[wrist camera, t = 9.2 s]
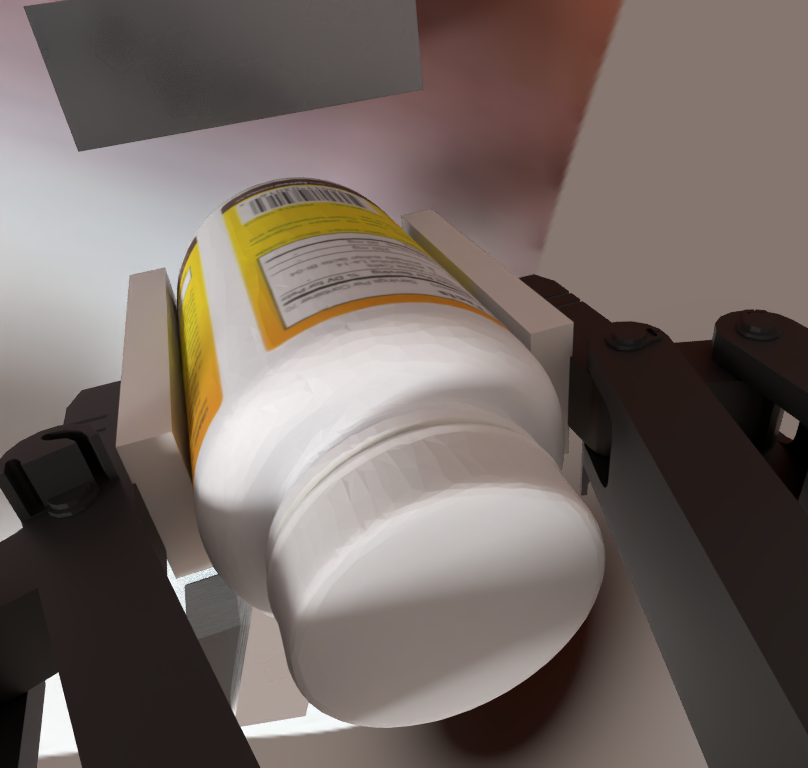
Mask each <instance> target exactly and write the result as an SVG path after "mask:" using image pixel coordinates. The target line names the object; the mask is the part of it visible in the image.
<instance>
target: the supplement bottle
mask: <svg viewBox="0 0 808 768" xmlns="http://www.w3.org/2000/svg"><path fill="white" fill-rule="evenodd" d="M177 315H178V324H179V335H180V345H181V357H182V370H183V381H184V391H185V404H186V413H187V424H188V428H187V429H188V438H189V452H190V461H191V472H192V485H193V497H194V504H195V513H196V520H197V525H198V529H199V533H200V537H201V540H202V543H203V546H204V549H205V551H206V553H207V555H208V557H209V559H210V561H211V563H212V566H213V567H214V569H215V570H216V571H217V573H218V574H219V575H220V577H221V578H222V579H223V580H224V582H225V583H226V584H227V585H228V586H229V587H230V588H231V589H232V591H233V592H234V593H235V594H236V595H238V596H239V597H240V598H241V599H243V600H244V601H245V602H247V603H248V604H249V605H251V606H253V607H254V608H256V609H257V610H259V611H261V612H262V613H264V614H266V615H267V616H270V617H272V618H274V619H276V621H277V623H278V625H279V629H280V633H281V637H282V642H283V647H284V651H285V656H286V661H287V665H288V669H289V672H290V674H291V676H292V679H293V681H294V682H295V684H296V686H297V688H298V689H299V691H300V692H301V694H302V695H303V696H304V697H305V698H306V699H307V700H308V702H309V703H311V704H312V705H313V706H314V707H316V708H317V709H318V710H320V711H321V712H323V713H325V714H327V715H329V716H331V717H333V718H335V719H338V720H340V721H343V722H347V723H350V724H354V725H360V726H369V727H385V728H390V727H400V726H411V725H417V724H423V723H429V722H434V721H438V720H441V719H445V718H448V717H451V716H454V715H457V714H460V713H463V712H465V711H468V710H471V709H473V708H475V707H477V706H479V705H482V704H484V703H486V702H488V701H490V700H492V699H494V698H496V697H498V696H500V695H502V694H504V693H505V692H507V691H509V690H510V689H512V688H514V687H515V686H516V685H518V684H520V683H521V682H523V681H524V680H525V679H527V678H528V677H530V676H531V675H532V674H534V673H535V672H536V671H537V670H539V669H540V668H541V667H542V666H544V665H545V664H546V663H547V662H548V661H550V660H551V659H552V658H553V657H554V656H555V655H556V654H557V652H559V651H560V650H561V649H562V648H563V647H564V645H565V644H566V643H567V642H568V641H569V640H570V639H571V638H572V636H573V635H574V634H575V633H576V631H577V630H578V628H579V627H580V626H581V625H582V623H583V622H584V620H585V619H586V617H587V616H588V614H589V612H590V610H591V608H592V606H593V604H594V602H595V600H596V597H597V595H598V592H599V589H600V586H601V583H602V580H603V575H604V570H605V548H604V541H603V538H602V535H601V531H600V528H599V526H598V523H597V522H596V520H595V518H594V517H593V515H592V513H591V512H590V510H589V509H588V508H587V506H586V505H585V504H584V503H583V501H582V500H581V499H580V497H579V496H578V495H577V494H576V493H575V491H574V490H573V489H572V488H571V487H570V485H569V484H568V482H566V480H565V479H564V477H563V474H562V472H561V471H562V467H563V461H564V450H565V429H564V419H563V415H562V410H561V406H560V402H559V399H558V396H557V394H556V391H555V389H554V387H553V385H552V383H551V381H550V379H549V377H548V375H547V373H546V372H545V370H544V369H543V367H542V366H541V364H540V363H539V362H538V360H537V359H536V358H535V357H534V356H533V355H532V354H531V352H530V351H529V350H528V349H527V348H526V347H525V345H524V344H523V343H522V342H521V341H520V340H519V339H518V338H517V337H516V336H514V335H513V334H512V333H511V332H510V331H509V330H508V328H507V327H506V326H504V325H503V324H502V323H501V322H500V321H499V320H498V319H497V318H496V317H495V316H493V315H492V314H491V313H490V312H489V311H488V310H487V309H486V308H485V307H484V306H483V305H482V304H481V303H480V302H479V301H478V300H476V299H475V298H474V297H473V296H472V295H471V294H470V293H469V292H468V291H467V290H466V289H465V288H464V287H463V286H462V285H461V284H460V283H459V282H458V281H457V280H456V279H455V278H453V277H452V276H451V275H450V274H449V273H448V272H447V271H446V270H445V269H444V268H443V267H442V266H441V265H440V264H439V263H437V262H436V261H435V260H434V259H433V258H432V257H431V256H430V255H429V254H428V253H427V252H426V251H425V250H424V249H423V248H422V247H421V246H420V245H418V244H417V243H416V242H415V241H414V240H413V239H412V238H411V237H410V236H409V235H408V234H407V233H406V232H405V231H404V230H403V229H402V228H401V227H399V226H398V225H397V224H396V223H395V222H394V221H393V220H392V219H391V218H390V217H389V216H388V215H387V214H386V213H385V212H384V211H383V210H381V209H380V208H379V207H378V206H377V205H375V204H374V203H373V202H371V201H370V200H368V199H367V198H365V197H364V196H362V195H361V194H359V193H357V192H355V191H353V190H351V189H349V188H347V187H345V186H342V185H340V184H336V183H333V182H330V181H325V180H320V179H314V178H300V177H299V178H283V179H277V180H272V181H269V182H265V183H261V184H258V185H255V186H253V187H250V188H248V189H246V190H244V191H242V192H240V193H238V194H237V195H235V196H233V197H232V198H230V199H228V200H227V201H226V202H224V203H223V204H222V205H220V206H219V207H218V208H217V209H216V210H215V211H214V212H213V213H212V214H211V215H210V216H208V217H207V219H206V220H205V221H204V222H203V223H202V225H201V226H200V227H199V229H198V230H197V231H196V233H195V234H194V236H193V238H192V240H191V241H190V243H189V245H188V248H187V250H186V252H185V255H184V257H183V260H182V263H181V267H180V271H179V277H178V286H177Z"/></svg>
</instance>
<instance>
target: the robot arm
mask: <svg viewBox="0 0 808 768" xmlns="http://www.w3.org/2000/svg"><path fill="white" fill-rule="evenodd" d="M401 217H402V226H403V230H404V231H405V232H406V233H407V234H408V235H409V236H410V237H411V238H412V239H413V240H414V241H415V242H416V243H417V244H418V245H420V246H421V247H422V248H423V249H424V250H425V251H426V252H427V253H428V254H429V255H430V256H431V257H432V258H433V259H434V260H435V261H436V262H437V263H439V264H440V265H441V266H442V267H443V268H444V269H445V270H446V271H447V272H448V273H449V274H450V275H451V276H452V277H453V278H455V279H456V280H457V281H458V282H459V283H460V284H461V285H462V286H463V287H464V288H465V289H466V290H467V291H468V292H469V293H470V294H471V295H472V296H473V297H474V298H475V299H476V300H478V301H479V302H480V303H481V304H482V305H483V306H484V307H485V308H486V309H487V310H488V311H489V312H490V313H491V314H492V315H493V316H495V317H496V318H497V319H498V320H499V321H500V322H501V323H502V324H503V325H504V326H506V327H507V328H508V330H509V331H510V332H511V333H512V334H513V335H514V336H516V337H517V338H518V339H519V340H520V341H521V342H522V343H523V344H524V345H525V347H526V348H527V349H528V350H529V351H530V352H531V354H532V355H533V356H534V357H535V358H536V359H537V360H538V362H539V363H540V364H541V366H542V367H543V369H544V370H545V372H546V373H547V375H548V377H549V379H550V381H551V383H552V385H553V387H554V389H555V391H556V394H557V396H558V399H559V402H560V406H561V410H562V415H563V419H564V429H565V450H564V455H565V454H567V453H568V452H569V451H568V450H569V428H571V429H572V430H573V431H574V432H575V433H576V434H577V435H578V436H579V437H580V438H581V439H582V441H583V442H582V461H581V479H580V491H581V495H587V488H588V484H589V482H590V483H591V485H592V487H593V490H594V492H595V495H596V497H597V499H598V502H599V504H600V507H601V509H602V512H603V514H604V516H605V519H606V521H607V523H608V526H609V528H610V531H611V533H612V536H613V538H614V540H615V543H616V545H617V548H618V550H619V552H620V555H621V557H622V559H623V562H624V565H625V567H626V569H627V572H628V574H629V577H630V579H631V581H632V584H633V586H634V589H635V591H636V594H637V596H638V598H639V601H640V603H641V606H642V608H643V610H644V613H645V615H646V618H647V620H648V623H649V624H650V627H651V630H652V632H653V634H654V637H655V639H656V642H657V644H658V647H659V649H660V651H661V654H662V656H663V658H664V661H665V663H666V666H667V668H668V670H669V673H670V676H671V678H672V680H673V683H674V685H675V687H676V690H677V692H678V695H679V697H680V700H681V702H682V705H683V707H684V709H685V711H686V714H687V716H688V719H689V721H690V724H691V726H692V729H693V731H694V733H695V736H696V738H697V741H698V743H699V746H700V748H701V750H702V753H703V755H704V757H705V760H706V762H707V765H708V767H709V768H808V328H806V327H804V326H803V325H801V324H799V323H797V322H795V321H794V320H792V319H789V318H787V317H784V316H782V315H779V314H775V313H770V312H767V311H765V310H755V311H754V310H744V311H737V312H731V313H728V314H726V315H723V316H721V317H720V318H719V319H718V320H717V322H716V323H715V327H714V333H713V339H712V340H705V341H692V342H679V343H673V341H672V340H671V339H670V338H669V336H668V335H666V334H665V333H664V332H663V331H661V330H660V329H659V328H656V327H653V326H651V325H648V324H644V323H638V322H613V323H612V322H610V321H609V320H608V319H606V318H605V317H603V316H602V315H601V314H599V313H598V312H597V311H595V310H594V309H592V308H591V307H590V306H588V305H587V304H586V303H584V302H583V301H582V302H580V299H579V298H577V297H576V296H575V295H573V294H572V293H570V294H569V291H568V290H566V289H565V288H564V287H562V286H561V285H559V284H558V283H557V282H555V281H553V280H550V279H547V278H543V277H540V276H537V275H534V274H533V275H529V276H525V277H521V278H517V277H516V276H515V275H514V274H512V273H511V272H510V271H509V270H507V269H506V268H505V267H503V266H502V265H501V264H500V263H498V262H497V261H496V260H495V259H493V258H492V257H491V256H490V255H488V254H487V253H486V252H485V251H483V250H482V249H481V248H480V247H478V246H477V245H476V244H475V243H473V242H472V241H471V240H469V239H468V238H467V237H466V236H464V235H463V234H462V233H461V232H459V231H458V230H457V229H456V228H454V227H453V226H452V225H451V224H449V223H448V222H447V221H446V220H444V219H443V218H442V217H440V216H439V215H438V214H437V213H435V212H434V211H433V210H432V209H428V210H423V211H419V212H414V213H410V214H405V215H401ZM784 410H785V411H786V412H788V413H789V414H790V415H792V416H793V417H795V418H796V419H798V420H799V421H800V422H799V426H798V429H797V433H796V436H795V438H794V440H792V439H790V438H788V437H786V436H785V435H784V434H782V433H781V432H780V431H779V429H780V425H781V422H782V418H783V414H784ZM187 428H188V424H187V413H186V404H185V391H184V381H183V370H182V357H181V345H180V335H179V324H178V315H177V302H176V299H175V296H174V293H173V290H172V287H171V284H170V281H169V278H168V275H167V273H166V270H165V268H161V269H156V270H152V271H147V272H143V273H138V274H134V275H130V278H129V290H128V302H127V314H126V327H125V339H124V351H123V363H122V375H121V381H117V382H113V383H109V384H105V385H101V386H97V387H93V388H90V389H86V390H82V391H81V392H80V393H79V394H78V395H77V397H76V398H75V399H74V400H73V401H72V403H71V404H70V405H69V406H68V407H67V410H66V415H65V420H64V424H63V425H61V426H57V427H53V428H50V429H47V430H43V431H40V432H38V433H36V434H34V435H32V436H30V437H28V438H26V439H24V440H22V441H20V442H19V443H18V444H16V445H15V446H14V447H12V448H11V449H10V450H8V451H7V452H6V453H5V454H4V455H3V457H2V458H1V459H0V488H1V490H2V491H3V493H4V494H5V496H6V498H7V499H8V501H9V503H10V504H11V506H12V507H13V509H14V511H15V512H16V514H17V516H18V517H19V519H20V520H21V522H22V526H23V528H22V529H21V530H19V531H18V532H17V533H15V534H14V535H12V536H10V537H9V538H7V539H5V540H3V541H1V542H0V768H37V761H38V751H39V742H40V732H41V723H42V713H43V704H44V694H45V680H46V679H48V678H50V677H51V676H53V675H55V674H56V673H58V672H59V676H60V680H61V684H62V688H63V692H64V696H65V700H66V704H67V708H68V712H69V716H70V720H71V724H72V728H73V732H74V736H75V740H76V744H77V748H78V753H79V756H80V761H81V765H82V768H260V766H259V764H258V762H257V760H256V758H255V756H254V754H253V752H252V750H251V748H250V746H249V744H248V742H247V739H246V737H245V735H244V733H243V731H242V729H241V727H240V725H239V723H238V721H237V719H236V717H235V715H234V713H233V711H232V709H231V707H230V704H229V702H228V700H227V698H226V696H225V694H224V692H223V690H222V688H221V686H220V684H219V682H218V680H217V678H216V676H215V674H214V672H213V669H212V667H211V665H210V663H209V661H208V659H207V657H206V655H205V653H204V651H203V649H202V647H201V645H200V643H199V641H198V639H197V637H196V635H195V632H194V630H193V628H192V626H191V624H190V622H189V620H188V618H187V616H186V614H185V612H184V610H183V608H182V606H181V604H180V602H179V600H178V597H177V595H176V593H175V591H174V589H173V587H172V585H171V583H170V581H169V579H168V577H167V560H168V562H169V564H170V566H171V568H172V571H173V573H174V575H175V577H176V579H177V578H180V577H183V576H186V575H189V574H192V573H195V572H198V571H202V570H205V569H208V568H211V567H213V566H212V563H211V561H210V559H209V557H208V555H207V553H206V551H205V549H204V546H203V543H202V540H201V537H200V533H199V529H198V525H197V520H196V513H195V504H194V497H193V485H192V472H191V461H190V452H189V438H188V429H187Z"/></svg>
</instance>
